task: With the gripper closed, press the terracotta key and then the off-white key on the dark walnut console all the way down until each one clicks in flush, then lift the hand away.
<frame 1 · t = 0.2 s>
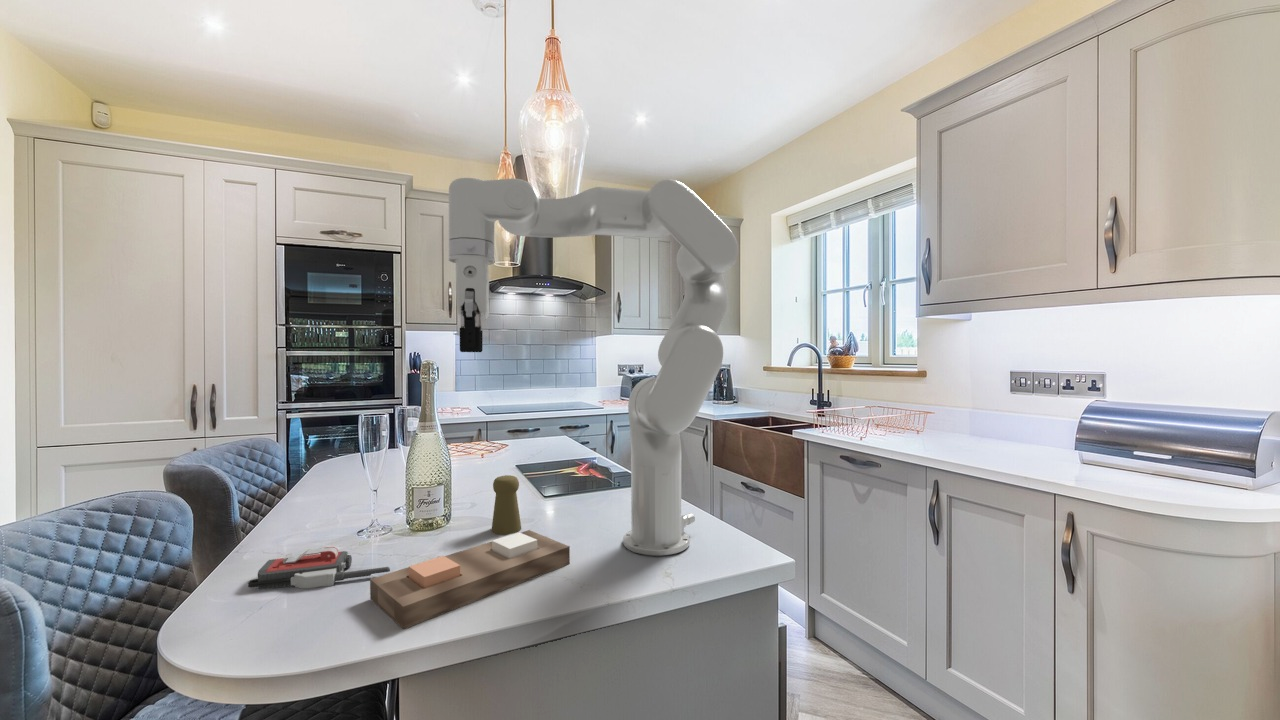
hand: (471, 352, 88), 37 cm above the kitchen island, tool pointing down, fingers open, 9 cm apart
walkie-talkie: (325, 579, 83), on the kitchen island
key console: (477, 580, 81), on the kitchen island
off-white key: (514, 547, 86), point 3 cm above the kitchen island, slide at 0.0 cm
terracotta key: (434, 573, 76), point 3 cm above the kitchen island, slide at 0.0 cm
cork: (506, 530, 105), on the kitchen island
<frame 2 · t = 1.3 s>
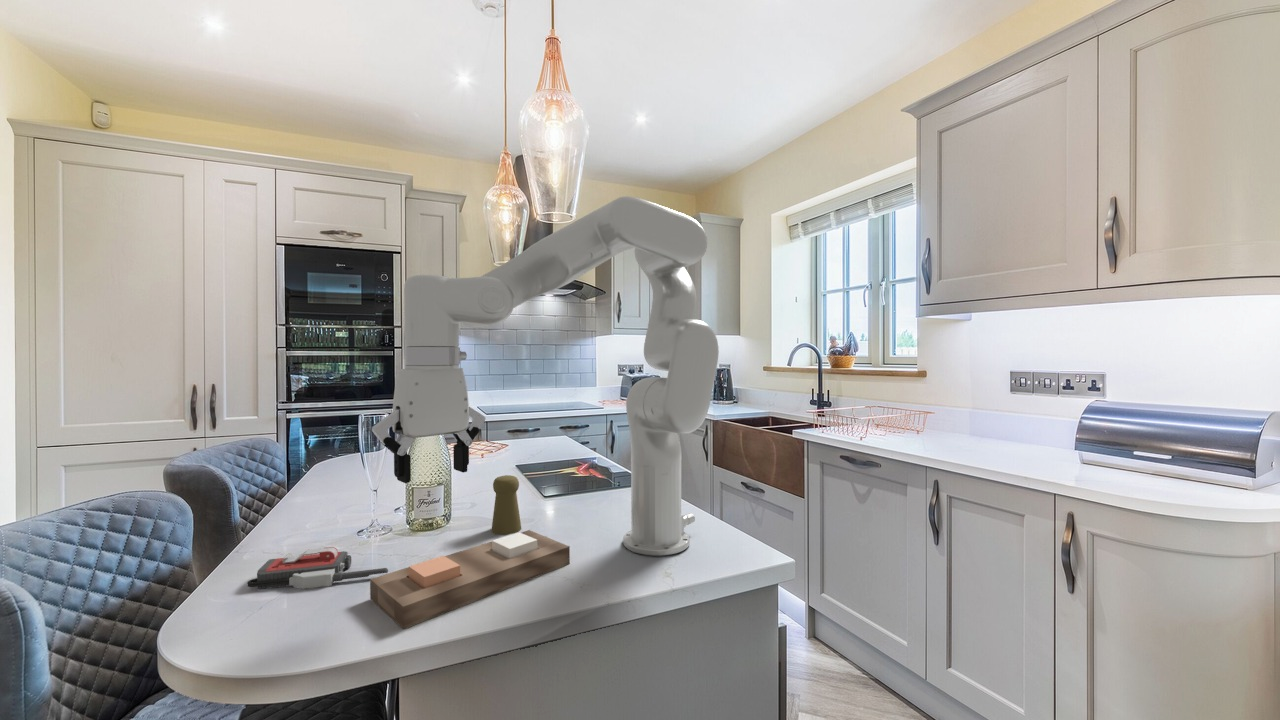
hand: (433, 475, 76), 18 cm above the kitchen island, tool pointing down, fingers open, 8 cm apart
nothing on the kitchen island moved.
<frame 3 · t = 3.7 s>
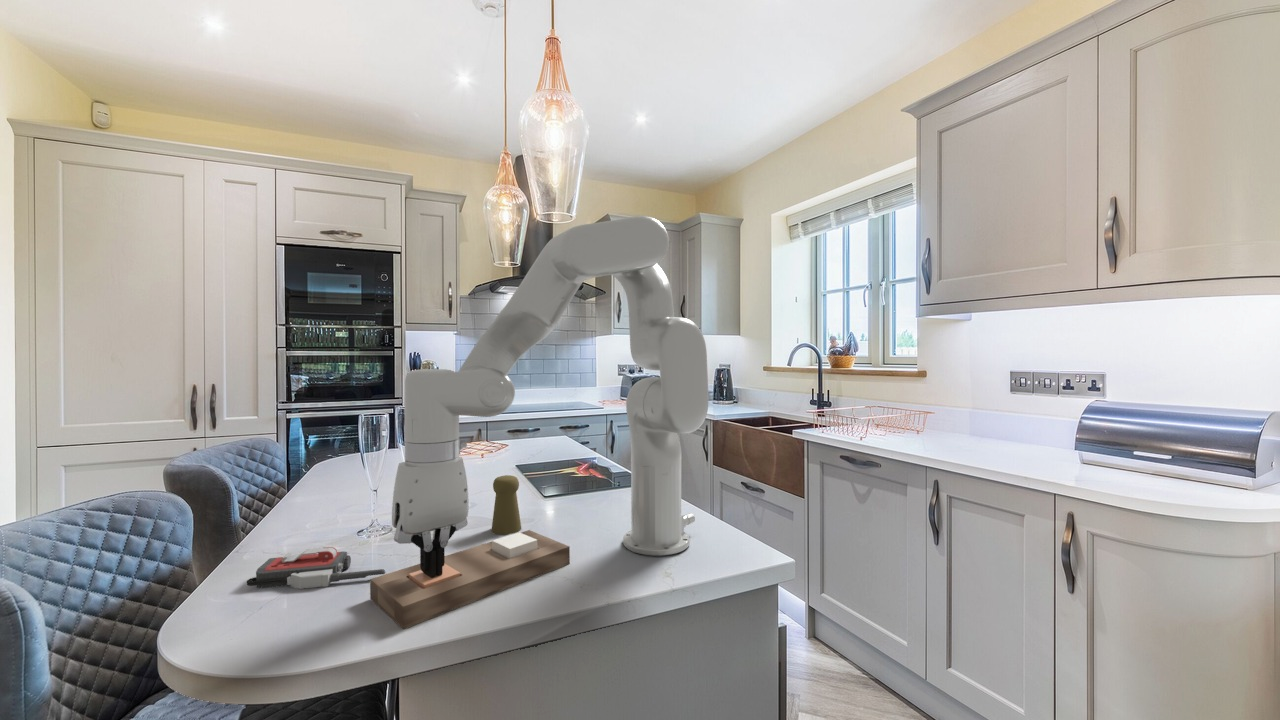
hand: (432, 573, 76), 3 cm above the kitchen island, tool pointing down, fingers closed
terracotta key: (434, 581, 76), point 2 cm above the kitchen island, slide at 1.1 cm, touching gripper
everything else where it was.
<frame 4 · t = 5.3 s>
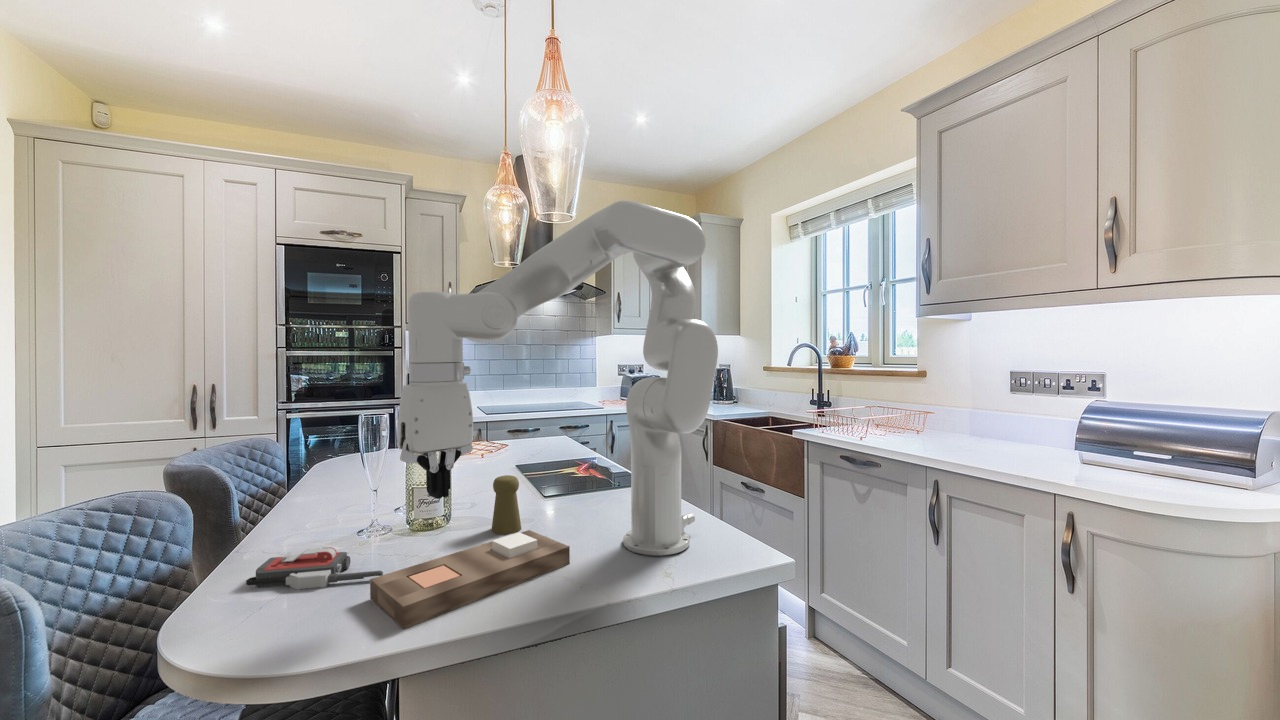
hand: (438, 496, 77), 15 cm above the kitchen island, tool pointing down, fingers closed
terracotta key: (434, 584, 76), point 2 cm above the kitchen island, slide at 1.6 cm
everything else where it was.
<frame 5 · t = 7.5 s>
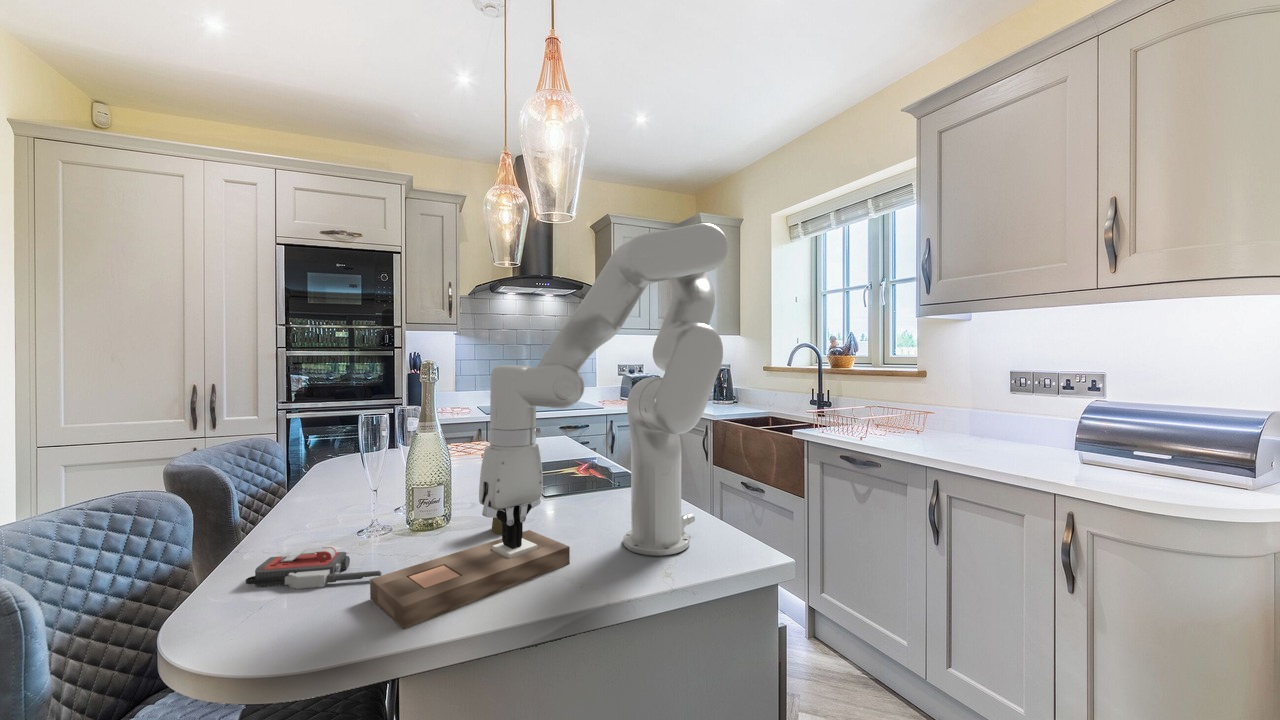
hand: (512, 545, 86), 4 cm above the kitchen island, tool pointing down, fingers closed
off-white key: (515, 552, 86), point 2 cm above the kitchen island, slide at 0.9 cm, touching gripper
everything else where it was.
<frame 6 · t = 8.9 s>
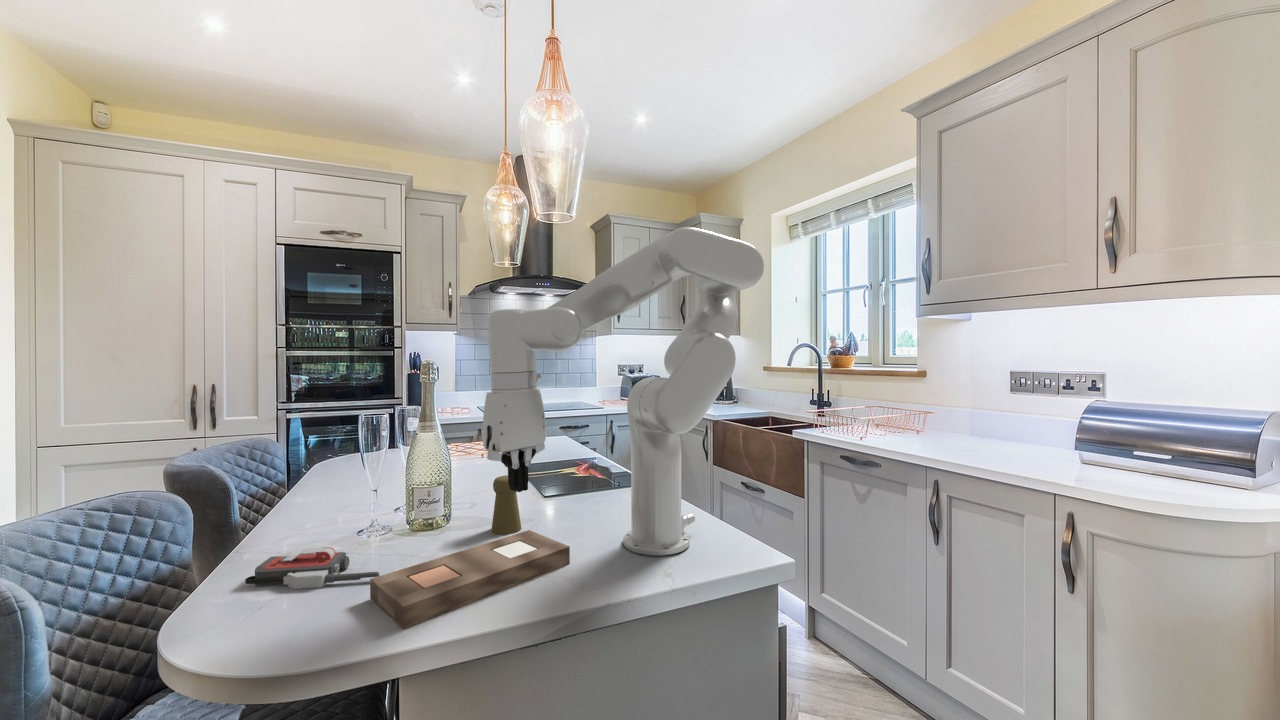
hand: (518, 489, 87), 13 cm above the kitchen island, tool pointing down, fingers closed
off-white key: (515, 556, 86), point 2 cm above the kitchen island, slide at 1.5 cm
everything else where it was.
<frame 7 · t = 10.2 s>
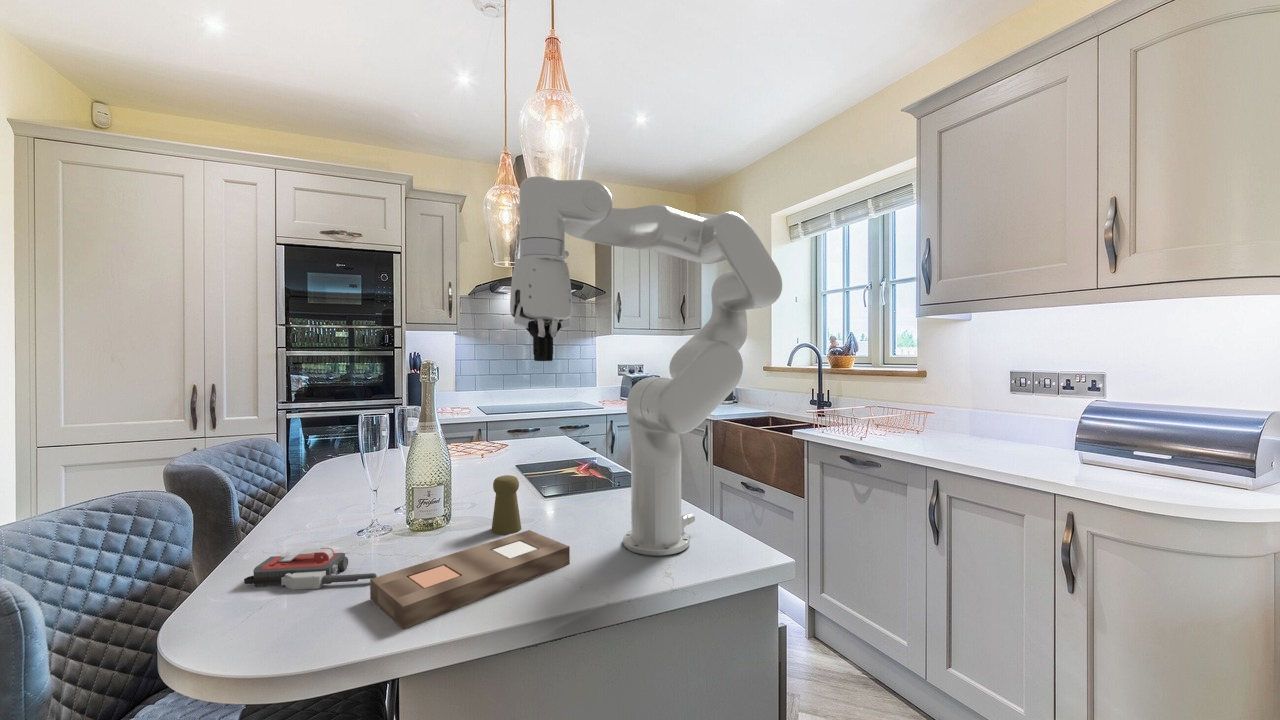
hand: (543, 360, 87), 35 cm above the kitchen island, tool pointing down, fingers closed
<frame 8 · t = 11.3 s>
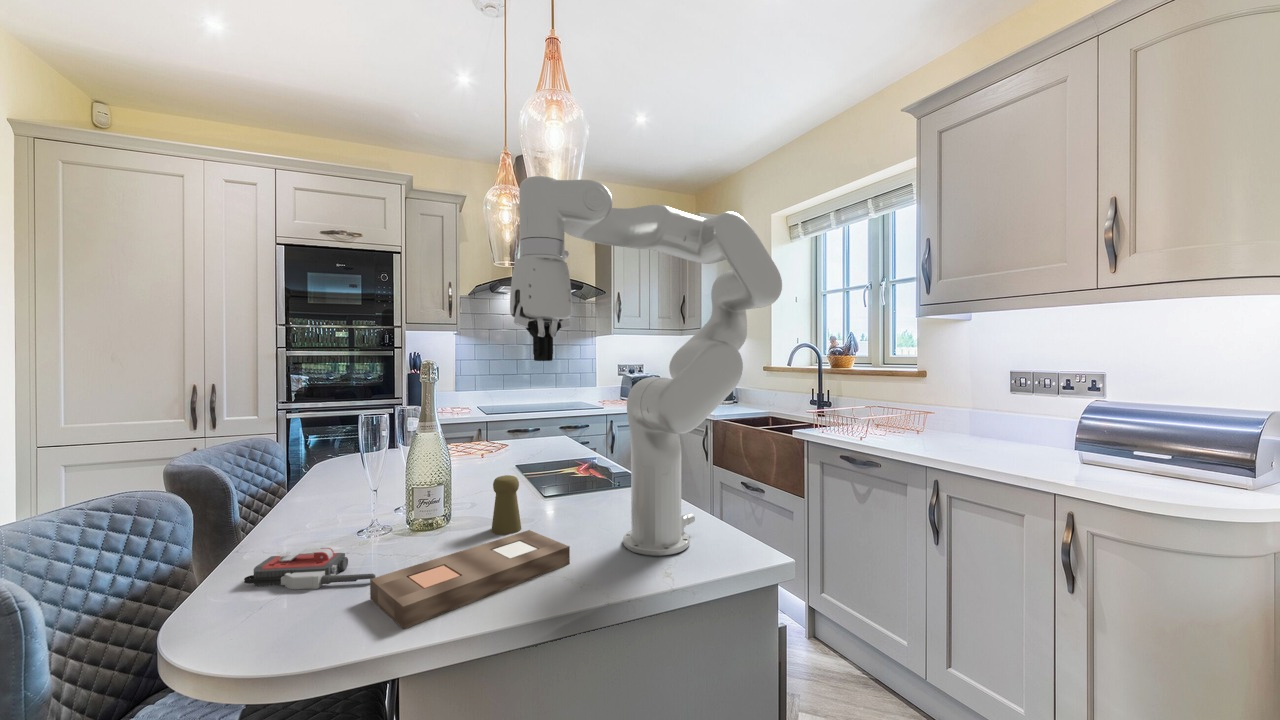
hand: (543, 360, 87), 35 cm above the kitchen island, tool pointing down, fingers closed
nothing on the kitchen island moved.
at the end: terracotta key slide at 1.6 cm; off-white key slide at 1.5 cm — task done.
